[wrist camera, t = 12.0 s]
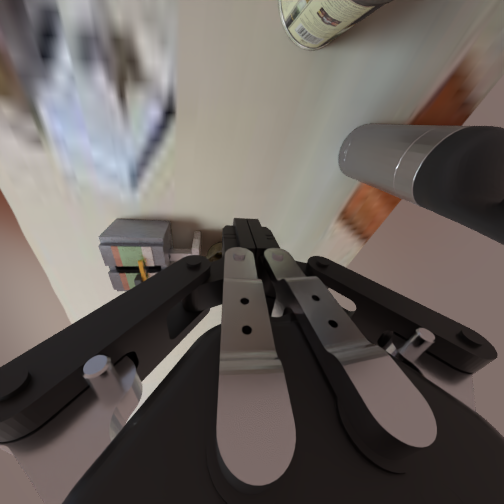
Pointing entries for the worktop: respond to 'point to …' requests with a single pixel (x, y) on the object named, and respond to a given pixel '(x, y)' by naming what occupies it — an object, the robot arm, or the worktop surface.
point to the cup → (215, 252)
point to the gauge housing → (135, 249)
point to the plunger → (176, 254)
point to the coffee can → (322, 19)
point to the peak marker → (138, 280)
